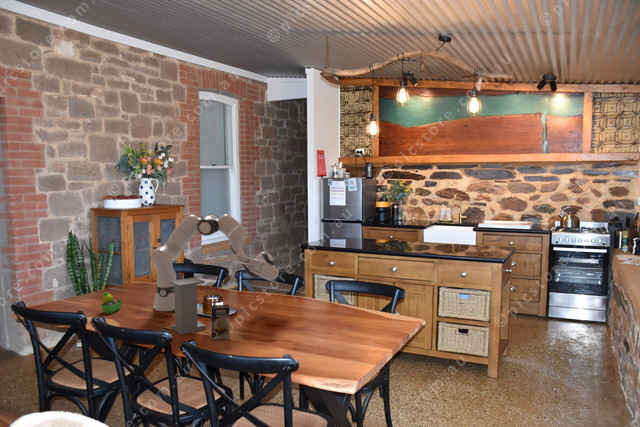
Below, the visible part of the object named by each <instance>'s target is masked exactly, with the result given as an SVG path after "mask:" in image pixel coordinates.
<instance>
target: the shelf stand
mask: <svg viewBox="0 0 640 427" xmlns="http://www.w3.org/2000/svg"><path fill="white" fill-rule="evenodd" d="M170 283H171V284H173V285H174V295H175V310H174V322H175V323H174V324H172V325H170V328H171V330H172V331H174V332H175V333H177V334H179V335H186V334H190V333H194V332H199V331H204V330H206V329H207V328H206V327H207V326H206V325H205V324H204V323H202V322H200V321H198V317H199V316H198V285H202V284H205V280H202V279H199V278H198V277H189V278H181V279H176V280H174V281H170Z"/></svg>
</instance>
